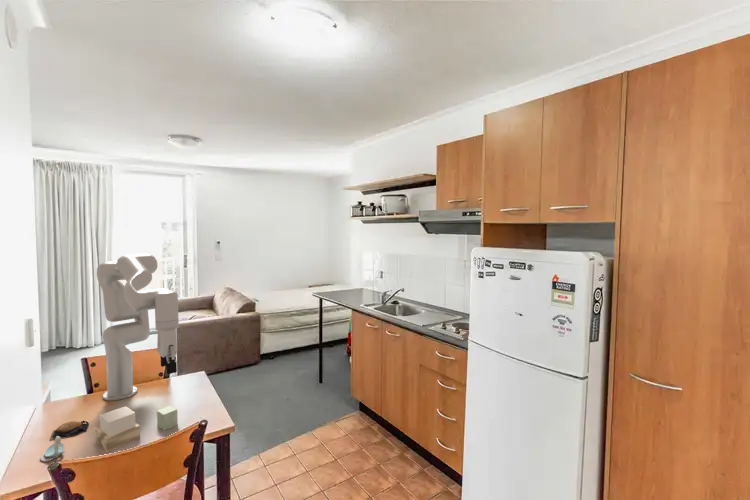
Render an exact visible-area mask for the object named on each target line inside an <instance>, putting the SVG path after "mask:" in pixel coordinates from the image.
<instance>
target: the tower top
mask: <svg viewBox="0 0 750 500" xmlns="http://www.w3.org/2000/svg"><path fill="white" fill-rule="evenodd" d="M136 423H137V422H136V412H135V411H133V409H130V408H129V407H128V406H126V405H124V406H122V407H118V408H116V409H113V410H110V411H107V412H105V413H101V414H99V427H100V429H101V430H102V431H103V432H104V433H105V434H107V435H108V436H109V437H110V436H113V435H115V434H118V433H120V432H123V431H125V430H128V429H130V428H133V427H135V426H136Z"/></svg>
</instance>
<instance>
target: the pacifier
mask: <svg viewBox="0 0 750 500" xmlns="http://www.w3.org/2000/svg"><path fill="white" fill-rule="evenodd" d="M61 441H62V438H60V437H59V436H56V438H55V440H54V442H53V444H52V445H50V446H49V447H48V448H47V449H46V450H45V452H43V454H42V455H40V457H39V459H40V461H41V462H50V461H52V460H54V459H55V458H59V457H60V455H61V454H63V453H65V450H64V449H65V444H64V443H62V442H61ZM46 457H47V458H46Z"/></svg>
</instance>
